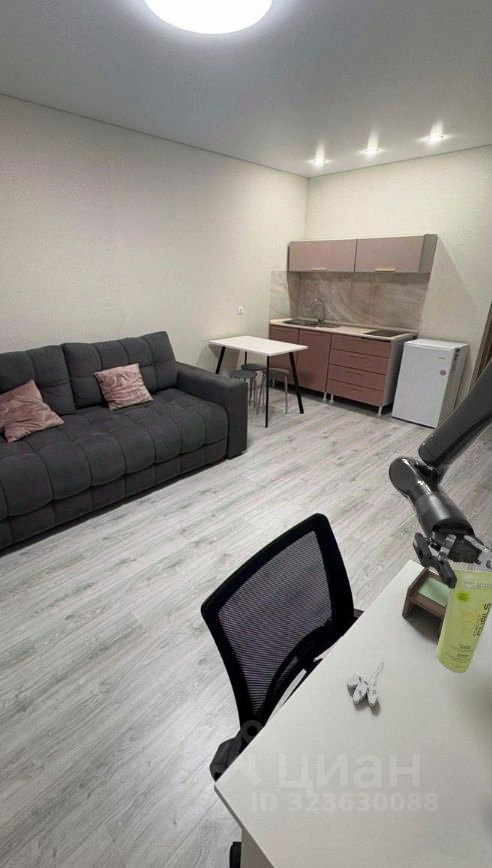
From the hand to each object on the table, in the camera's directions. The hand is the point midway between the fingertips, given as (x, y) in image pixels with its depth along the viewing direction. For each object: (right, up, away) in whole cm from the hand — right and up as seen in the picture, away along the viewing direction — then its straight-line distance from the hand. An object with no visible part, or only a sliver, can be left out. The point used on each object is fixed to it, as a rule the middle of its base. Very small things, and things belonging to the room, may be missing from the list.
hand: (482, 587), depth 60 cm
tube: (0, -16, +9) cm, 18 cm away
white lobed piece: (-9, -28, +21) cm, 36 cm away
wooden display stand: (+11, -22, +37) cm, 44 cm away
